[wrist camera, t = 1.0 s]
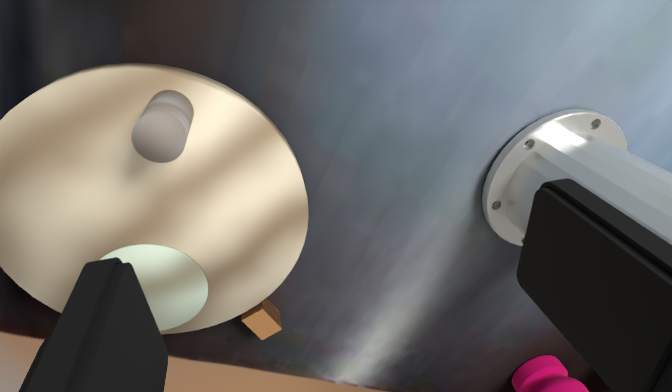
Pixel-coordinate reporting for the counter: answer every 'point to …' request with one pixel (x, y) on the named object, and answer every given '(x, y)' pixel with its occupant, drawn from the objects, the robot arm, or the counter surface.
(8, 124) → the serving platter
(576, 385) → the pepper mill
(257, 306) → the wooden block
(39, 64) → the counter surface
